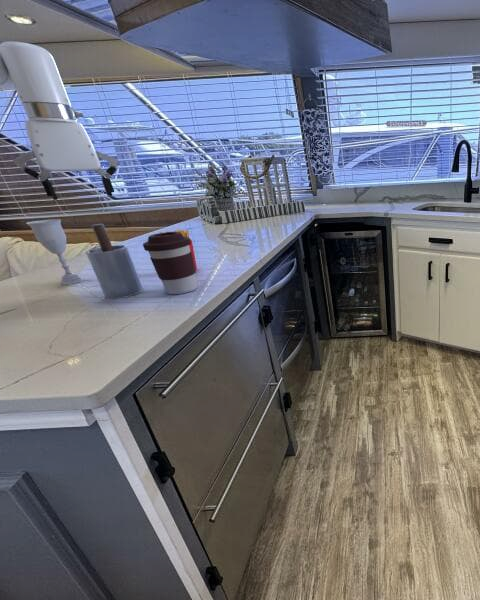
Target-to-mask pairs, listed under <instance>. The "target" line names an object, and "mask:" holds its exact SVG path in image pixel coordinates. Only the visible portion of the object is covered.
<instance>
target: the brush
mask: <svg viewBox="0 0 480 600" xmlns="http://www.w3.org/2000/svg"><path fill="white" fill-rule="evenodd" d="M91 227H92V231H93V233H94V235H95V238H96V240H97V242H98V245H99V248H100V247H101V250H102V252H106V251H112V250H113V247H112V246H113V245H112V242H111V240H110V238H109V237H110V236H109V235H108V232H107V230H106V228H105V227H106V226H105V225H104V223H96V224H95V223H94V224H91Z"/></svg>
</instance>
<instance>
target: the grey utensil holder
mask: <svg viewBox="0 0 480 600" xmlns="http://www.w3.org/2000/svg"><path fill="white" fill-rule="evenodd" d="M112 247H113V250H112V251H106V252H102V250H101V247H100V246H99V247H96V248H92V249H88V250H87V251H85V254H86V256H87V258H88V261H89V264H90V265H91V268H92V270H93V272H94V274H95V277H96V279H97V282H98V284H99V286H100V289H101V290H102V291H101V292H102V293H103V295H104V297H105V298H106V299H120V298H126V297H129V296H134V295H136V294H139V293H141V292H142V291H143V290H144V288H143V284H142V281H141V279H140V277H139V274H138V271H137V268H136V266H135V264H134V261H133V258H132V255H131V253H130V251H129V248H128V246H127V245H126V244H125V245H123V244H116V245H112Z"/></svg>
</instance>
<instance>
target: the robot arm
mask: <svg viewBox="0 0 480 600" xmlns="http://www.w3.org/2000/svg"><path fill="white" fill-rule="evenodd" d="M0 90H16V93H17V95H18V98H19V100H20V103H21V105H22V108H24V112H25V115H26V117H27V118H28V120H25V121H24V127H25V130H26V134H27V138H28V140H29V143H30V146H31V148H32V150H30V151H28V152H26V153H23V154H22V155H19V156H18V157H17V156H16V158H13V159H12V162H13V163H14V164H15V165H16V166H17V167H18V168H19V169H21V170H22V171H23V172H24V173H26V174H27V175H29V176H31V177H33V178H34V179H36V180H38V181H40V182H41V184H42V186H43V189H44V192H45V194H46V196H47V197H52V199H53V201H57V200H58V199H59V197H58V195H57V193H56V191H55V189H54V186H53V184H52V181H51V180H49V178H48V177H49V176H50V174H51V173H52V172H88V171H94V172H96V173H97V174H98V175H100V176H101V182H102V186H103V188H104V190H105V191H104V192H105V194H106V196H107V197H113V193H115V189H114V186H113V184H112V181H111V178H112V177H113V175H114V174H115V173H116V171H117V167H118V163H119V159H118V158H116V157H113V156H110V155H108V154H106V153H103V152H100V151H97V150H96V149H95V147H94V145H93V142H92V140H91V138H90V136H89V135H88V133H87V131H86V129H85V127H84V126H83V124H82V123H81V122H78V121H77V120H78V119H84V118H85V116H84V113H83V111H81V110H77V109H74V108H73V106H72V104H71V101H70V99H69V96H68V94H67V90H66V88H65V86H64V83H63V81H62V77H61V75H60V72H59V69H58V67H57V64H56V61H55V59H54V56H53V55H52V54H51V52H50V51H48V50H47V49H45V48H44V47H41V46H39V45H36V44H33V43H28V42H21V41H3V42H1V43H0ZM33 159H36V162H37V164H38V165H39V168H40V169H42V170H41V171H40V172H37V171H36V170H34V169H32V168H30V167H29V166H28V165H27V162H29V161H31V160H33ZM100 159H101V160H104V161H106V162H108V163H109V166H108V168H107V169H106V170H104V169H103V168H102V167H101V162H100Z"/></svg>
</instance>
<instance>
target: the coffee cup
mask: <svg viewBox="0 0 480 600" xmlns="http://www.w3.org/2000/svg"><path fill="white" fill-rule="evenodd" d="M190 239H191V238H190V236H189V237H184V236H183V235H182V234H181V233H180V232H177V231H176V232H173V231H171V232H170V231H169V232H167V231H165V232H162V233H160V232H158V233H154V234H151V235H148V237H147V241H145V242H143V243H142V247H143V250H144V251H146V252H148V254H149V256H150V257H149V258H150V261H151V263H152V265H153V267H154V270H155V272H156V274H157V276H158V279H159V280H160V281H161V283H162V286H163V287H164V290H165V292H166V294H168V295H183V294H187V293H190V292H192V291H195V290H196V289H197V288H198V287H199V284H198V279H197V274H196V272H197V270H195V265H194V261H193V256H192V252H191V251H190V247H189V245H190V244H191V241H190Z"/></svg>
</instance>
